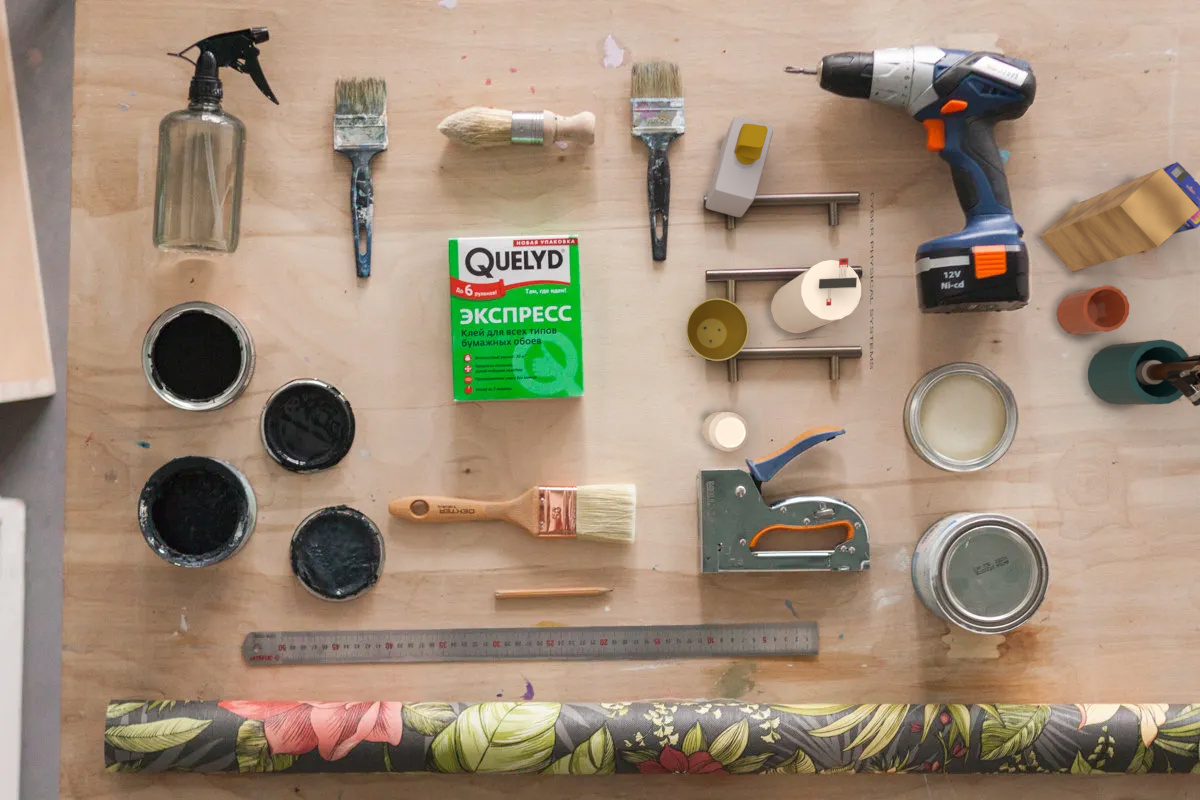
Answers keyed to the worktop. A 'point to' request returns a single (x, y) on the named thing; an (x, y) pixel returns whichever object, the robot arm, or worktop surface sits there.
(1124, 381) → the jar
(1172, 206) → the riser
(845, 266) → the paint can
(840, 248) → the worktop surface
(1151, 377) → the brush
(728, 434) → the cream round cylinder
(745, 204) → the soap bottle
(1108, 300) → the brush pot
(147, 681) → the worktop surface
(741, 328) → the flower pot
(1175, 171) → the ink cartridge box
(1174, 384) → the robot arm
